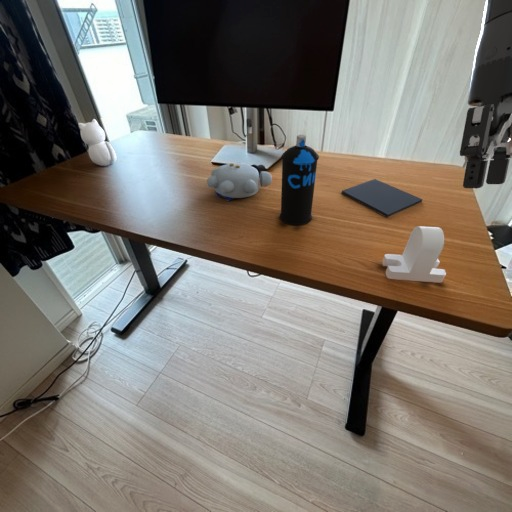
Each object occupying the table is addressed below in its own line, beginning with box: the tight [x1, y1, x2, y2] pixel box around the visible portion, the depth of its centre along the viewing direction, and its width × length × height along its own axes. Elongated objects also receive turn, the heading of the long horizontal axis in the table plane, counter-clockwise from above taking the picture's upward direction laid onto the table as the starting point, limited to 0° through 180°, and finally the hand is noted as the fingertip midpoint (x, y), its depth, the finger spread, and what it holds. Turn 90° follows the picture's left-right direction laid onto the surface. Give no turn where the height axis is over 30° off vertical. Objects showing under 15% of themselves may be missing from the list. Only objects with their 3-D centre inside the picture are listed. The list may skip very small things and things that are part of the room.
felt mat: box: [341, 178, 423, 218], centre depth 76 cm, size 16×14×1 cm
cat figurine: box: [77, 118, 118, 167], centre depth 98 cm, size 9×12×15 cm
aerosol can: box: [279, 134, 320, 227], centre depth 63 cm, size 8×8×20 cm
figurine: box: [206, 162, 273, 202], centre depth 80 cm, size 17×8×20 cm
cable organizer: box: [381, 225, 447, 284], centre depth 50 cm, size 5×10×10 cm, turn 81°
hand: (484, 186), depth 41 cm, fingers open, 8 cm apart
